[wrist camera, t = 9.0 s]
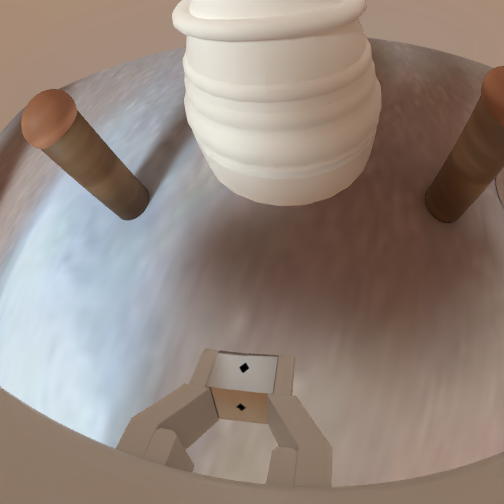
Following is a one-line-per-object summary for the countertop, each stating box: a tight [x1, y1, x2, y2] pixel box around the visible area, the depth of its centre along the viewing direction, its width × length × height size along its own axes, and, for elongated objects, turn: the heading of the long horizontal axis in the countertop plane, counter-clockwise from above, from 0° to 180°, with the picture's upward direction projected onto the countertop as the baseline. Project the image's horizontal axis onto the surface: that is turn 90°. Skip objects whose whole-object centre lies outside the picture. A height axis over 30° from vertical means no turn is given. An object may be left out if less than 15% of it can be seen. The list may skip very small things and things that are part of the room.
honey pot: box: [172, 0, 382, 206], centre depth 13 cm, size 13×13×18 cm
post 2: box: [425, 66, 504, 223], centre depth 11 cm, size 3×3×12 cm
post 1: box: [21, 89, 149, 220], centre depth 16 cm, size 3×3×12 cm
